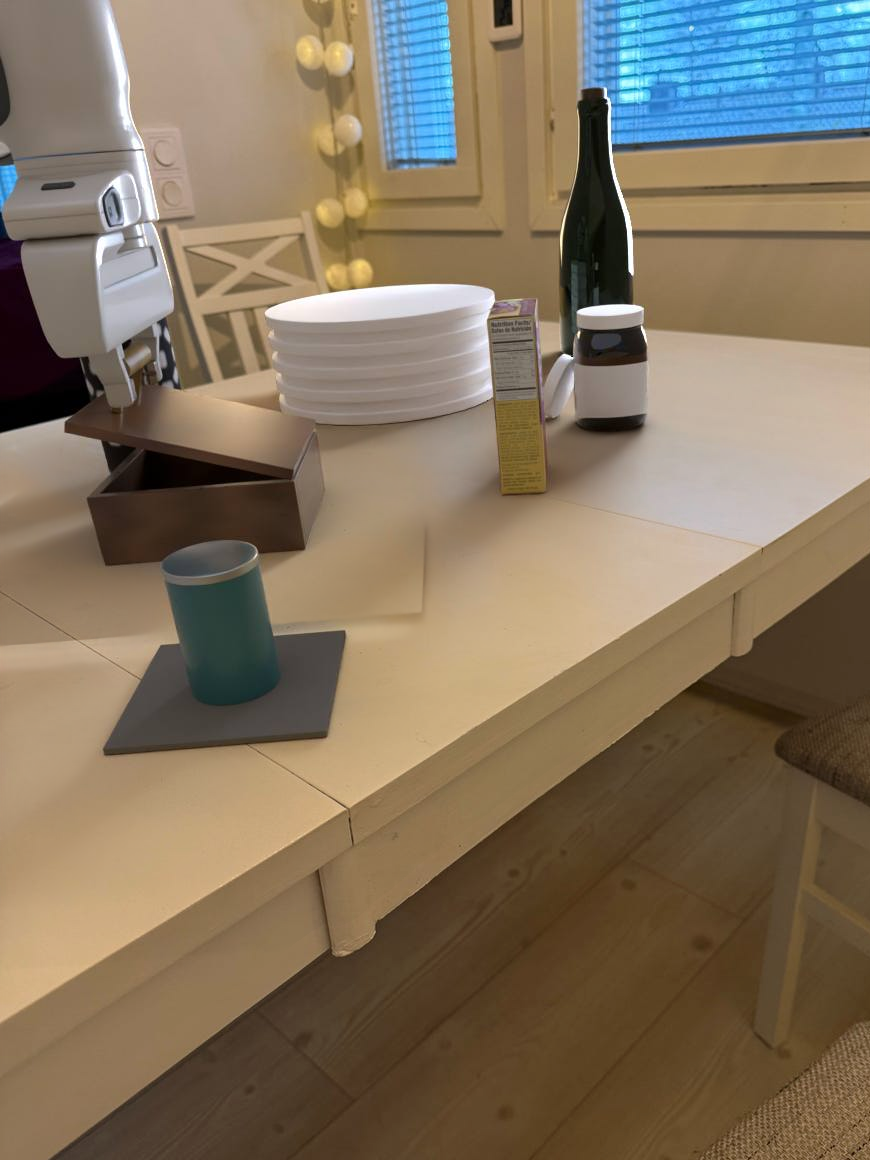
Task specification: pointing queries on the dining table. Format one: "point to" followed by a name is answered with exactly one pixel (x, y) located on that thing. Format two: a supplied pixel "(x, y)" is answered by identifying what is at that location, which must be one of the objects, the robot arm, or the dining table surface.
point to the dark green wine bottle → (593, 224)
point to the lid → (196, 426)
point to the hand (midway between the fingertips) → (137, 394)
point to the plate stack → (382, 353)
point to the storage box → (202, 506)
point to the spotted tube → (95, 388)
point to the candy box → (518, 395)
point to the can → (222, 621)
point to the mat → (284, 713)
